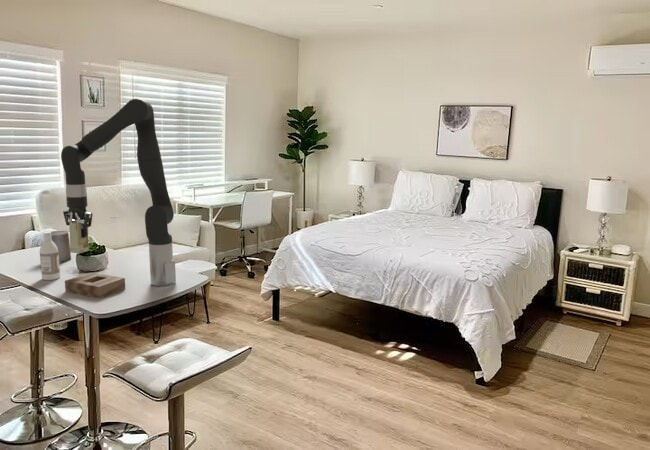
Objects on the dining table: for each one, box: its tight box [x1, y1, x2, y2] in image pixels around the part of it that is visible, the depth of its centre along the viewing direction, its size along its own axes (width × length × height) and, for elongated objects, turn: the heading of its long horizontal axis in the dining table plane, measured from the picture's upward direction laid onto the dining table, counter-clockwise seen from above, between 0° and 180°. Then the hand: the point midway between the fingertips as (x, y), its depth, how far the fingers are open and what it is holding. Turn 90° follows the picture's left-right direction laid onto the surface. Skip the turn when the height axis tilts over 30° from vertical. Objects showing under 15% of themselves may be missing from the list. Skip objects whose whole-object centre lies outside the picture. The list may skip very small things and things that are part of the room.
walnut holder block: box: [64, 272, 126, 299], centre depth 202 cm, size 18×13×4 cm
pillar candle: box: [50, 230, 72, 263], centre depth 246 cm, size 10×10×15 cm
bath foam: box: [39, 231, 61, 281], centre depth 216 cm, size 7×7×20 cm
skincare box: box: [68, 222, 90, 255], centre depth 208 cm, size 6×4×12 cm
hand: (79, 236), depth 208 cm, fingers closed on skincare box, 4 cm apart
